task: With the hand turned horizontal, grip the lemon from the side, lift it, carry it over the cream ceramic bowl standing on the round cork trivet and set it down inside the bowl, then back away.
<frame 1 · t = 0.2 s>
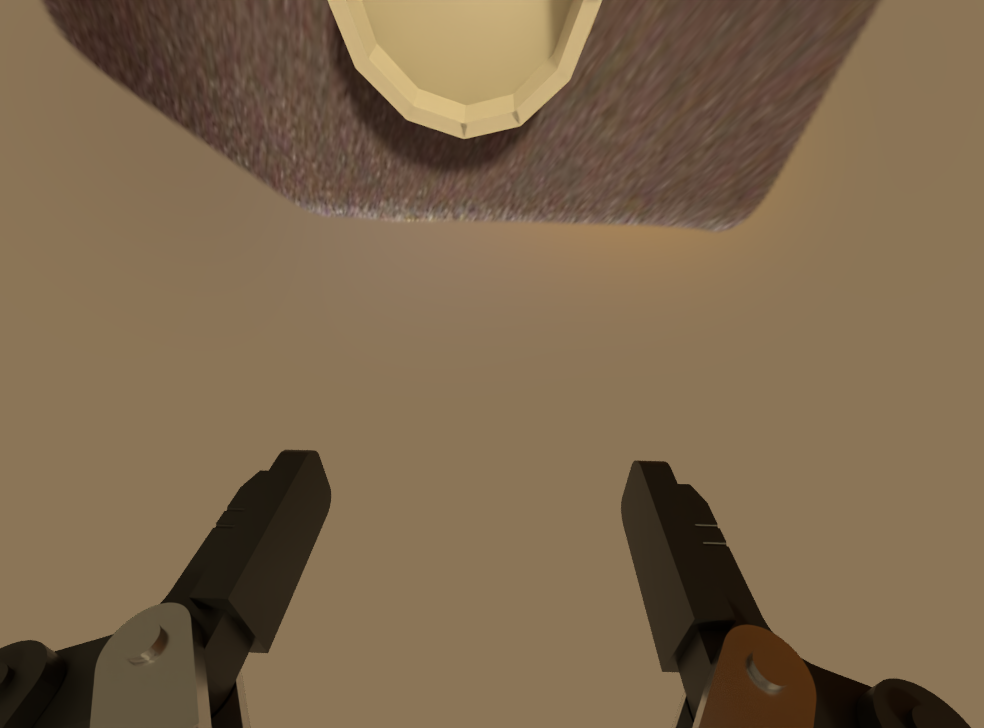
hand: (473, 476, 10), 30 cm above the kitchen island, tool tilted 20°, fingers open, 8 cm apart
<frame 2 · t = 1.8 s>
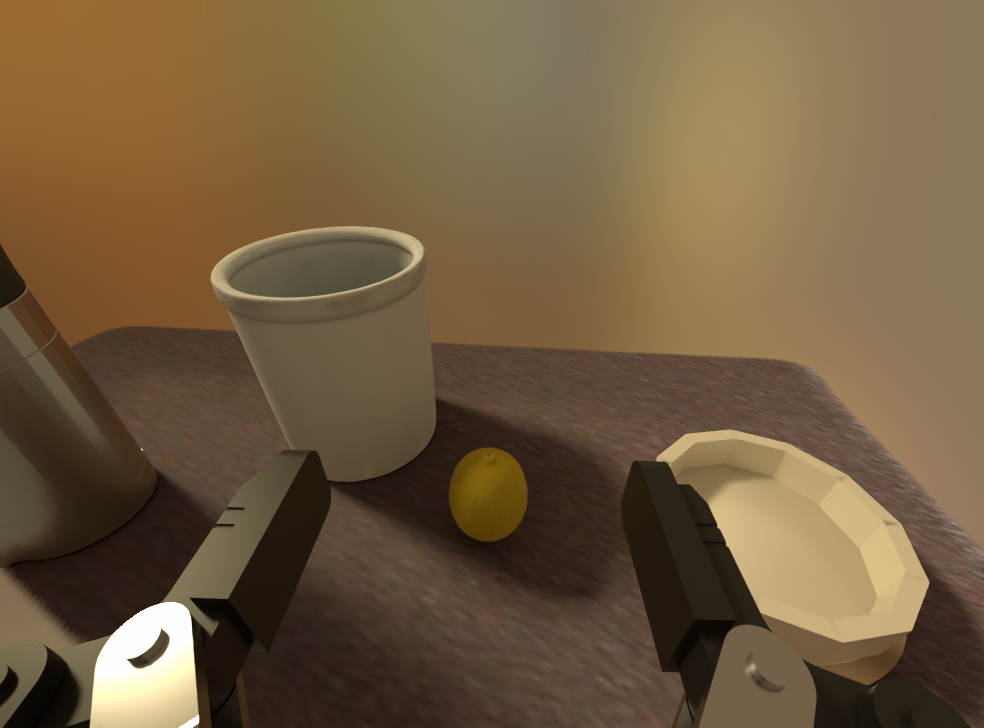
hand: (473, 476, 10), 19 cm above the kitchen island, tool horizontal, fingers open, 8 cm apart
lemon: (488, 529, 31), on the kitchen island
bowl: (752, 543, 29), resting on trivet
trivet: (748, 549, 29), on the kitchen island
utensil holder: (365, 429, 39), on the kitchen island
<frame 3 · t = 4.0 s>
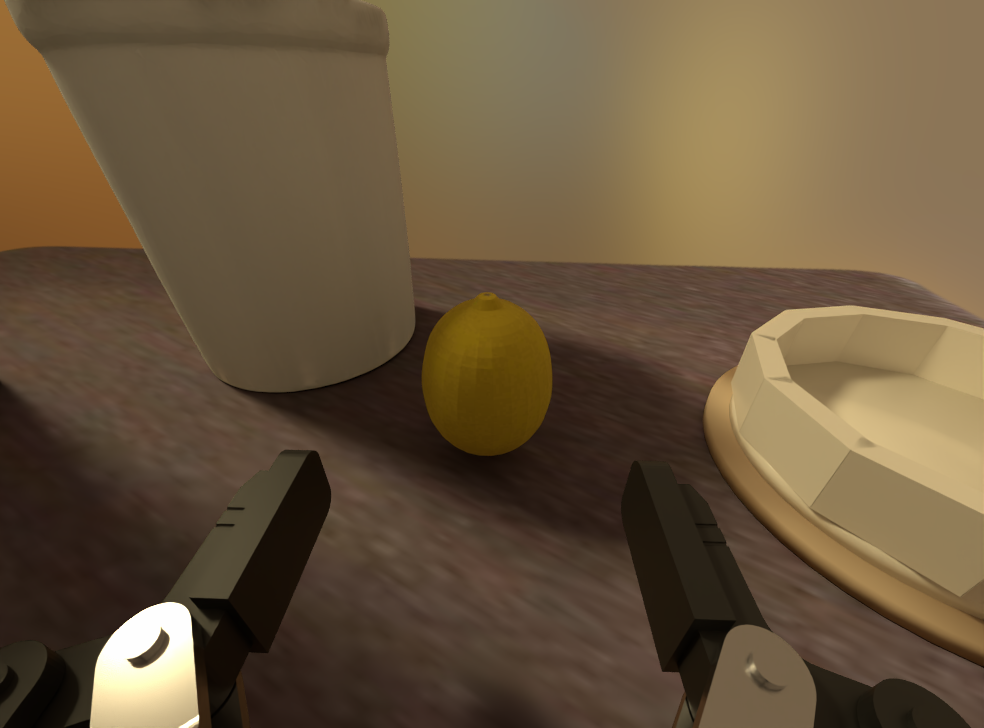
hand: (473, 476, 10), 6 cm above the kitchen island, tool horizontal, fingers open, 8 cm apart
lemon: (487, 449, 20), on the kitchen island
bowl: (917, 459, 18), resting on trivet
trivet: (906, 472, 18), on the kitchen island
utensil holder: (316, 338, 28), on the kitchen island
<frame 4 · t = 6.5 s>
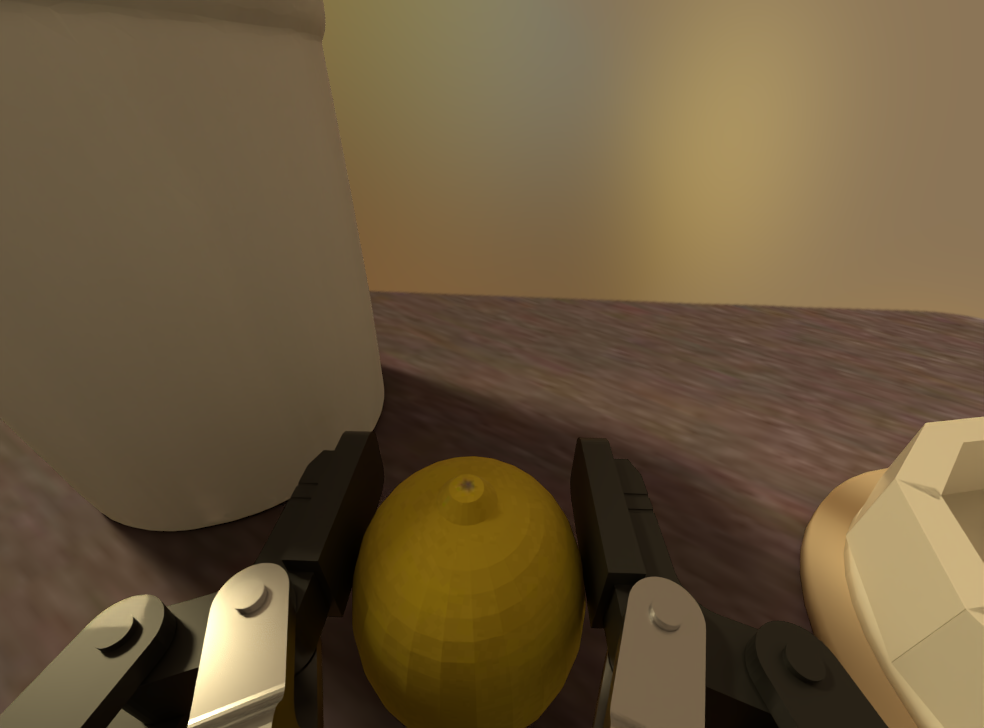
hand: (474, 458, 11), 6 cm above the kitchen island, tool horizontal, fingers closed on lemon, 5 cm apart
lemon: (473, 660, 12), on the kitchen island, touching gripper
utensil holder: (250, 422, 21), on the kitchen island
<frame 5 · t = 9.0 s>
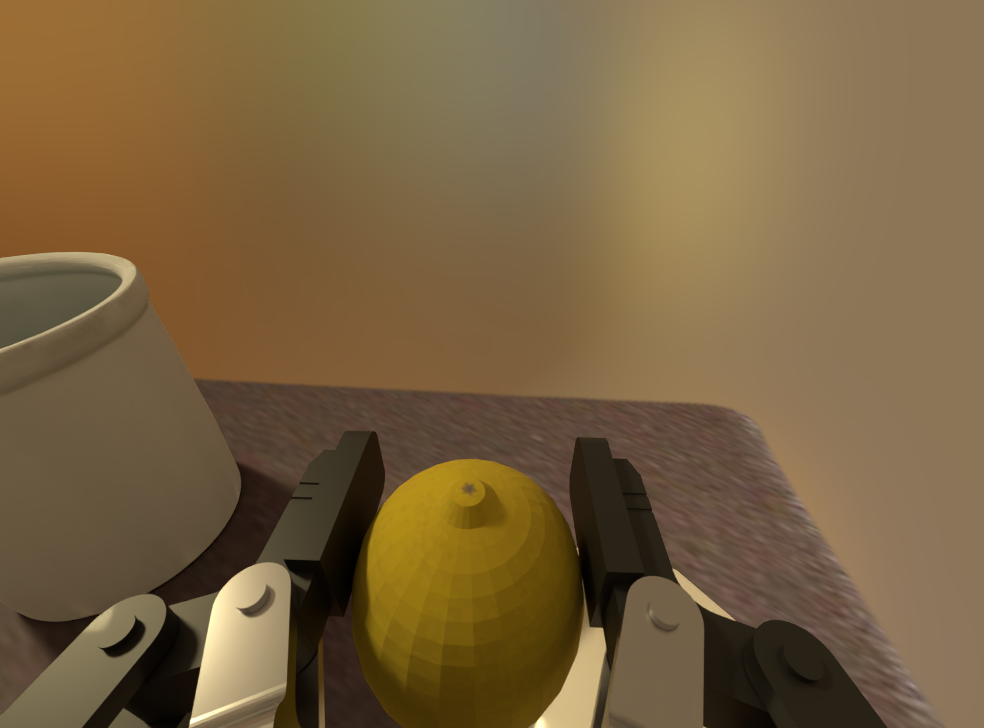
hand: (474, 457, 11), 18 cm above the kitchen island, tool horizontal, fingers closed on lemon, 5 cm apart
lemon: (470, 662, 12), point 12 cm above the kitchen island, touching gripper
utensil holder: (135, 524, 29), on the kitchen island
when the fingers open (10 cm above the kitchen island, at t = 11.9 s): lemon drops 2 cm, resting on bowl.
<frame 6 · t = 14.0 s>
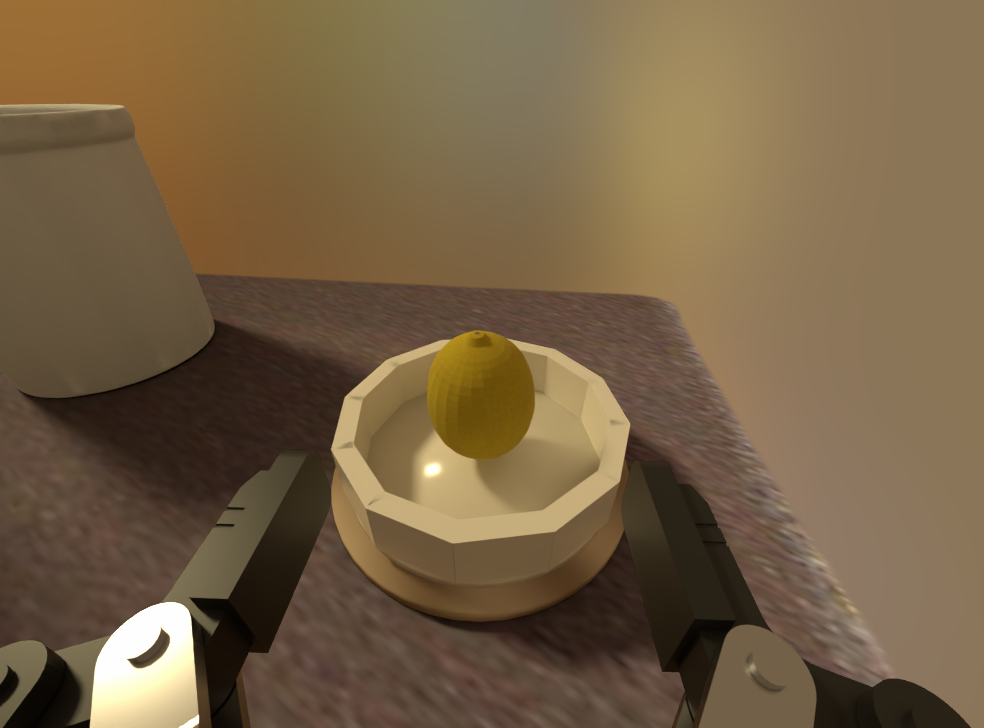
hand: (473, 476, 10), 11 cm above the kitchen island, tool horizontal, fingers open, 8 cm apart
lemon: (484, 451, 23), point 2 cm above the kitchen island, touching bowl
bowl: (482, 458, 24), resting on trivet
trivet: (482, 467, 24), on the kitchen island
utensil holder: (122, 352, 34), on the kitchen island
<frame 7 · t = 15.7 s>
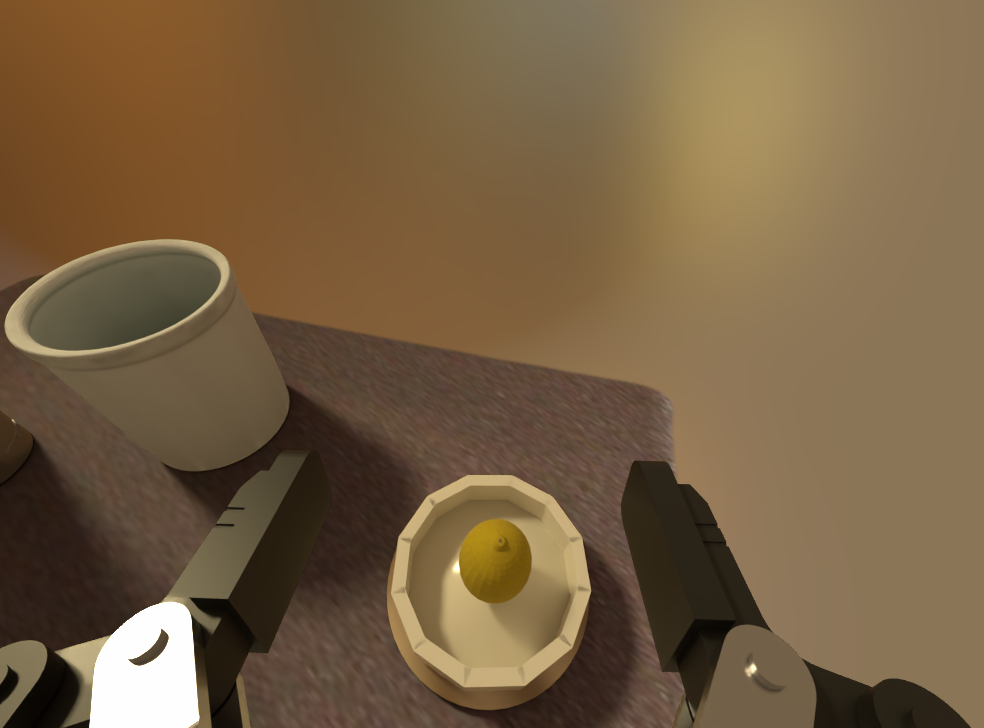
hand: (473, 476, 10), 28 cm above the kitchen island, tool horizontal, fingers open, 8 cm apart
lemon: (491, 577, 34), point 1 cm above the kitchen island, touching bowl
bowl: (489, 577, 34), resting on trivet
trivet: (488, 580, 35), on the kitchen island
utensil holder: (222, 418, 44), on the kitchen island
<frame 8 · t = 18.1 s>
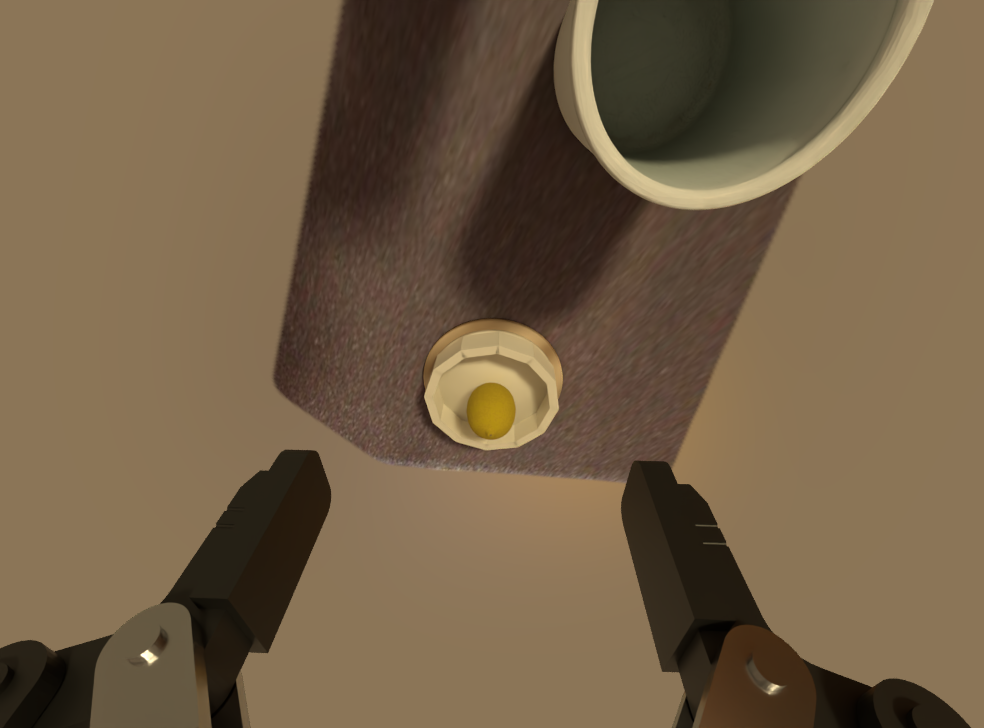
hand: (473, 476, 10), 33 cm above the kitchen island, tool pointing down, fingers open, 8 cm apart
lemon: (491, 386, 49), point 1 cm above the kitchen island, touching bowl
bowl: (492, 382, 49), resting on trivet
trivet: (492, 379, 50), on the kitchen island
utensil holder: (637, 59, 32), on the kitchen island
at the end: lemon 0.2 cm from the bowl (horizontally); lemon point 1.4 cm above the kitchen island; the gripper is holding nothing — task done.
